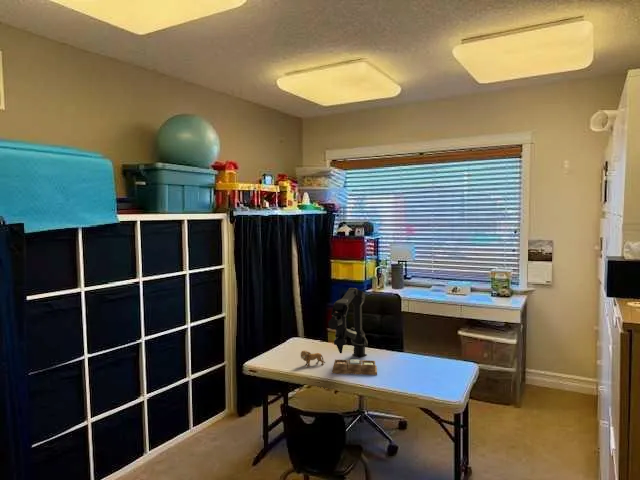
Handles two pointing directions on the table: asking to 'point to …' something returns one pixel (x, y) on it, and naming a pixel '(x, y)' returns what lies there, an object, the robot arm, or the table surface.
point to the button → (354, 361)
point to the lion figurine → (311, 357)
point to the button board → (355, 368)
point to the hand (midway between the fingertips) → (340, 353)
